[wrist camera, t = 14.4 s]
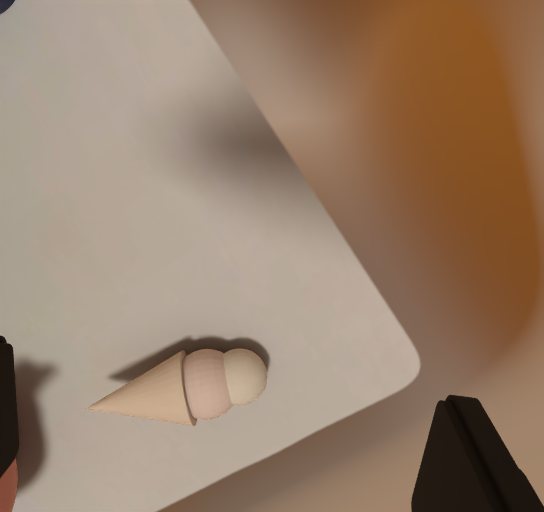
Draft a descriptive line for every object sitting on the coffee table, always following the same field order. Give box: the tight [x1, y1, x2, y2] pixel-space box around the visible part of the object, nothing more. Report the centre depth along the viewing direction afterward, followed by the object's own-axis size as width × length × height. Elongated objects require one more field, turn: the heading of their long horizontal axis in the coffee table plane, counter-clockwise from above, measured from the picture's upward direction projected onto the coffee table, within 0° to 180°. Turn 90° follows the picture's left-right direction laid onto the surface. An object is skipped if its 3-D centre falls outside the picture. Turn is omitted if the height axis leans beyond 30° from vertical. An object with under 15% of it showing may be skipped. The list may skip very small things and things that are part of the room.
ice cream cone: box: [86, 348, 267, 426], centre depth 40 cm, size 6×6×15 cm
